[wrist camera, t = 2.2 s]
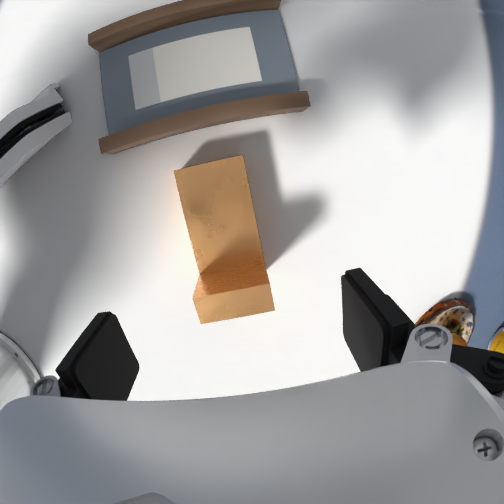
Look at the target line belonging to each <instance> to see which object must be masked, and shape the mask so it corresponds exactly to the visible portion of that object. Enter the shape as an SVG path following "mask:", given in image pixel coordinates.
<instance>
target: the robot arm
mask: <svg viewBox="0 0 504 504" xmlns="http://www.w3.org/2000/svg"><path fill="white" fill-rule="evenodd" d="M341 285H342V306H343V334H344V338H345V341H346V343H347V345H348V347H349V349H350V351H351V353H352V355H353V357H354V359H355V361H356V363H357V365H358V367H359V369H360V371H361V372H358V373H354V374H350V375H345V376H341V377H337V378H333V379H328V380H324V381H320V382H315V383H310V384H305V385H300V386H295V387H290V388H284V389H278V390H272V391H266V392H259V393H252V394H244V395H236V396H227V397H217V398H205V399H190V400H169V401H127V399H128V396H129V394H130V391H131V389H132V386H133V384H134V381H135V379H136V377H137V374H138V372H139V363H138V361H137V359H136V357H135V355H134V353H133V351H132V349H131V347H130V345H129V343H128V341H127V339H126V336H125V334H124V332H123V330H122V328H121V326H120V323H119V321H118V319H117V317H116V315H114V314H112V313H111V312H110V311H109V312H101V313H98V314H97V315H96V316H95V317H94V319H93V320H92V321H91V322H90V324H89V325H88V326H87V328H86V329H85V330H84V331H83V333H82V334H81V335H80V337H79V338H78V339H77V341H76V342H75V343H74V345H73V346H72V347H71V349H70V350H69V352H68V353H67V354H66V356H65V357H64V358H63V360H62V361H61V363H60V364H59V365H58V367H57V368H56V370H55V371H56V372H57V374H58V375H59V377H60V379H59V380H57V378H56V377H54V376H45V377H42V378H40V376H39V374H38V372H37V370H36V368H35V367H34V365H33V364H32V362H31V361H30V359H29V358H28V357H27V356H26V354H25V353H24V352H23V351H22V350H21V349H20V348H19V347H18V346H17V345H16V344H15V343H14V342H13V341H12V340H11V339H9V338H8V337H7V336H5V335H3V334H2V333H0V504H504V353H501V352H497V351H491V350H484V349H479V348H473V347H467V346H462V345H456V344H452V341H453V339H452V334H451V333H450V331H449V330H448V329H446V328H445V327H443V326H441V325H437V324H423V325H420V326H418V327H417V326H416V325H415V324H414V323H413V322H412V321H411V320H410V318H409V317H408V316H407V315H406V314H405V313H404V312H403V311H402V310H401V308H400V307H399V306H398V305H397V304H396V303H395V302H394V301H393V300H392V299H391V298H390V296H388V295H385V294H384V293H383V292H382V290H381V289H380V288H379V287H378V286H377V285H376V284H375V283H374V282H373V281H372V280H371V279H370V278H369V277H368V276H367V274H366V273H365V272H364V271H363V270H362V269H361V268H356V269H352V270H347V271H346V272H345V275H342V276H341Z"/></svg>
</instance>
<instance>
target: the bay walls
mask: <svg viewBox="0 0 504 504" xmlns="http://www.w3.org/2000/svg"><path fill="white" fill-rule="evenodd" d="M280 1H281V0H182V1H178V2H175V3H171V4H167V5H164V6H160V7H157V8H154V9H151V10H147V11H144V12H141V13H139V14H136V15H133V16H130V17H128V18H125V19H122V20H120V21H117V22H115V23H112V24H110V25H108V26H105V27H103V28H101V29H99V30H96V31H94V32H92V33H90V34H88V43H89V45H90V46H91V47H93V48H94V49H96V50H97V51H99V52H102V51H105V50H107V49H109V48H112V47H114V46H117V45H119V44H122V43H124V42H127V41H130V40H132V39H135V38H138V37H141V36H144V35H147V34H150V33H153V32H156V31H159V30H163V29H166V28H170V27H173V26H177V25H181V24H185V23H189V22H193V21H198V20H202V19H207V18H212V17H218V16H224V15H230V14H237V13H244V12H253V11H263V10H276V9H278V7H279V4H280ZM308 107H310V102H309V97H308V93H307V91H302V92H292V93H283V94H274V95H267V96H260V97H253V98H247V99H241V100H236V101H230V102H225V103H220V104H215V105H211V106H206V107H202V108H197V109H193V110H189V111H185V112H181V113H178V114H174V115H170V116H167V117H163V118H160V119H156V120H153V121H150V122H146V123H143V124H140V125H137V126H134V127H131V128H128V129H125V130H122V131H120V132H117V133H114V134H111V135H109V136H106V137H103V138H101V139H99V145H100V150H101V154H114V153H117V152H120V151H123V150H126V149H129V148H132V147H135V146H139V145H142V144H145V143H148V142H152V141H155V140H159V139H162V138H166V137H169V136H173V135H177V134H181V133H185V132H189V131H193V130H197V129H201V128H205V127H210V126H214V125H219V124H224V123H229V122H234V121H240V120H245V119H251V118H257V117H263V116H270V115H277V114H284V113H292V112H301V111H304V110H305V109H307V108H308Z"/></svg>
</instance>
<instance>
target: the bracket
mask: <svg viewBox="0 0 504 504" xmlns="http://www.w3.org/2000/svg"><path fill="white" fill-rule="evenodd" d="M174 174H175V179H176V183H177V187H178V192H179V196H180V200H181V204H182V208H183V212H184V216H185V220H186V224H187V228H188V232H189V236H190V240H191V243H192V247H193V251H194V255H195V258H196V262H197V266H198V269H199V273H200V275H199V279H198V282H197V285H196V288H195V292H194V295H193V301H194V304H195V307H196V310H197V313H198V316H199V319H200V322H201V324H203V323H210V322H215V321H221V320H227V319H233V318H238V317H244V316H249V315H254V314H259V313H264V312H269V311H274V310H275V309H274V303H273V298H272V293H271V288H270V283H269V279H268V275H267V271H266V267H265V263H264V258H263V253H262V248H261V243H260V238H259V233H258V228H257V223H256V218H255V213H254V208H253V203H252V198H251V193H250V188H249V183H248V178H247V173H246V168H245V163H244V158H243V155H240V156H235V157H230V158H226V159H221V160H217V161H212V162H208V163H203V164H199V165H195V166H191V167H187V168H183V169H179V170H175V171H174Z"/></svg>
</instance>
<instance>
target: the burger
mask: <svg viewBox="0 0 504 504" xmlns="http://www.w3.org/2000/svg"><path fill="white" fill-rule="evenodd" d="M472 311H473V310H472V309H471V307H470V306H469V305H468V304H467V303H465V302H464V301H462V300H461V299H456V298H455V300H451V301H449V302H440V303H439V304H437V305H435V306H434V307H433V309H432V311H430V312H426V313H425V314H424V315H423V316H422V317H421V318H420V319H419V320H418V321H417V322H416V324H415V325H416V326H417V327H418V326H420V325H423V324H437V325H441V326H443V327H445V328H446V329H448V330H449V331H450V333H451V334H452V339H453V341H452V344H456V345H462V346H467V343H468V342H469V340H470V337H471V334H472V332H473V330H474V326H475V320H474V313H473V312H472Z"/></svg>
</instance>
